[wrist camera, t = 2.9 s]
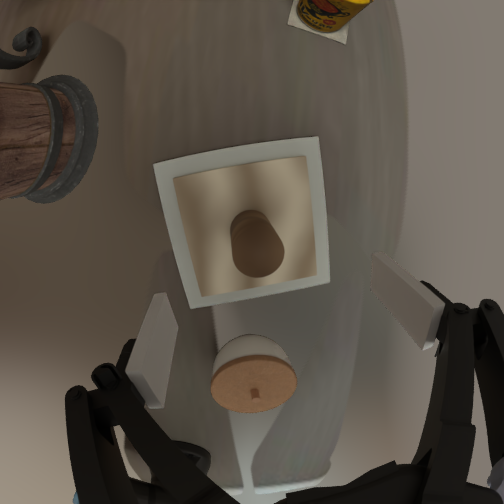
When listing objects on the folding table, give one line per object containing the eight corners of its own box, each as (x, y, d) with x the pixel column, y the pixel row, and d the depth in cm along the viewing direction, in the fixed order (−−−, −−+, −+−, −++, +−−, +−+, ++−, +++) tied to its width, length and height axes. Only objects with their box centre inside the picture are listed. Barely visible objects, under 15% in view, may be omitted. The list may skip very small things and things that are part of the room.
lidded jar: (242, 307, 35) (250, 356, 26) (300, 342, 38) (318, 389, 29) (196, 355, 37) (193, 405, 28) (253, 383, 40) (260, 429, 32)
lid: (202, 292, 33) (197, 333, 25) (174, 177, 27) (156, 188, 20) (314, 271, 33) (338, 305, 26) (303, 155, 28) (330, 158, 20)
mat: (190, 306, 34) (190, 309, 33) (154, 163, 27) (153, 164, 27) (328, 280, 34) (330, 282, 34) (316, 136, 28) (318, 136, 27)
